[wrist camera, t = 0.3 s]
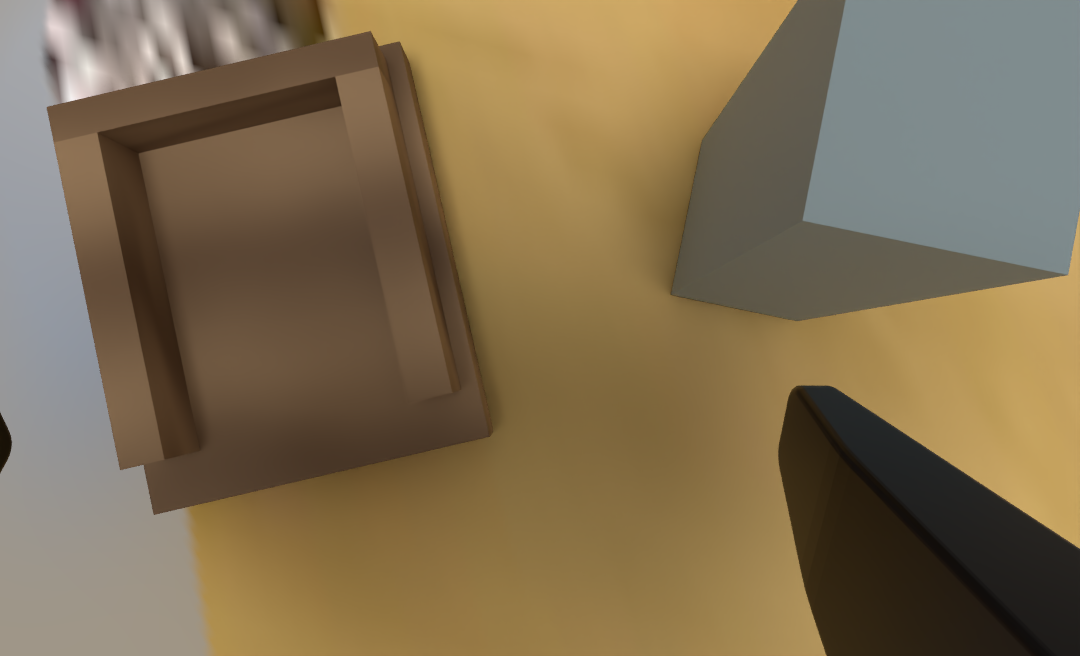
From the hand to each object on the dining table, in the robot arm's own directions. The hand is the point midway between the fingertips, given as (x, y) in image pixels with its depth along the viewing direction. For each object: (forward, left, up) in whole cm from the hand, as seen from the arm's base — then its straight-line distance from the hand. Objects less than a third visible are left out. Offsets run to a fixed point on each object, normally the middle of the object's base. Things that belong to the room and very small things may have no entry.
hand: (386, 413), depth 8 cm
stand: (+6, +4, -15) cm, 16 cm away
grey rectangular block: (0, -9, -15) cm, 17 cm away
